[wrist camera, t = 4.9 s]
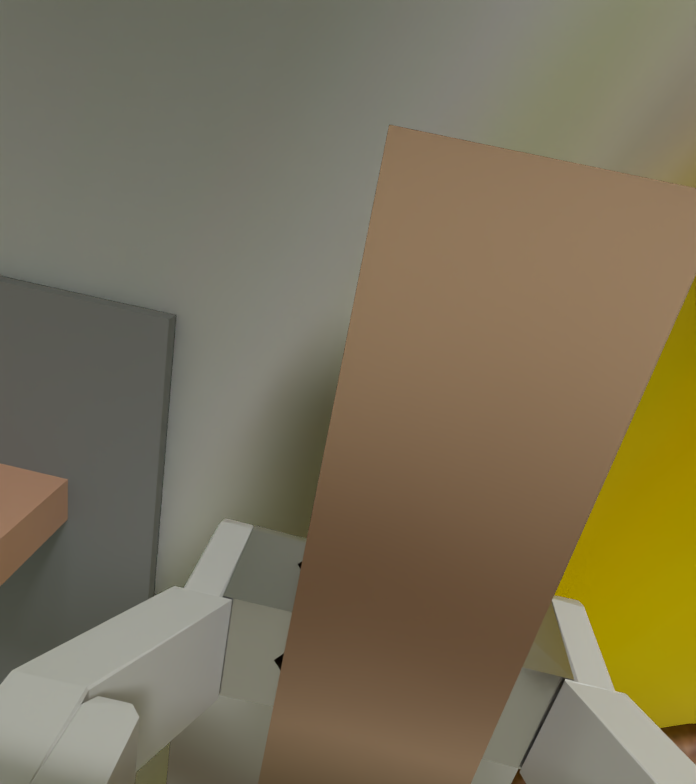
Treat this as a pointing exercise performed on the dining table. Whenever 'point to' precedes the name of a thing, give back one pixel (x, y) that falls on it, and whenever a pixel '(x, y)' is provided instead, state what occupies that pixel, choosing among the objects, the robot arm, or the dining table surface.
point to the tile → (28, 514)
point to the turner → (457, 459)
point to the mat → (82, 456)
